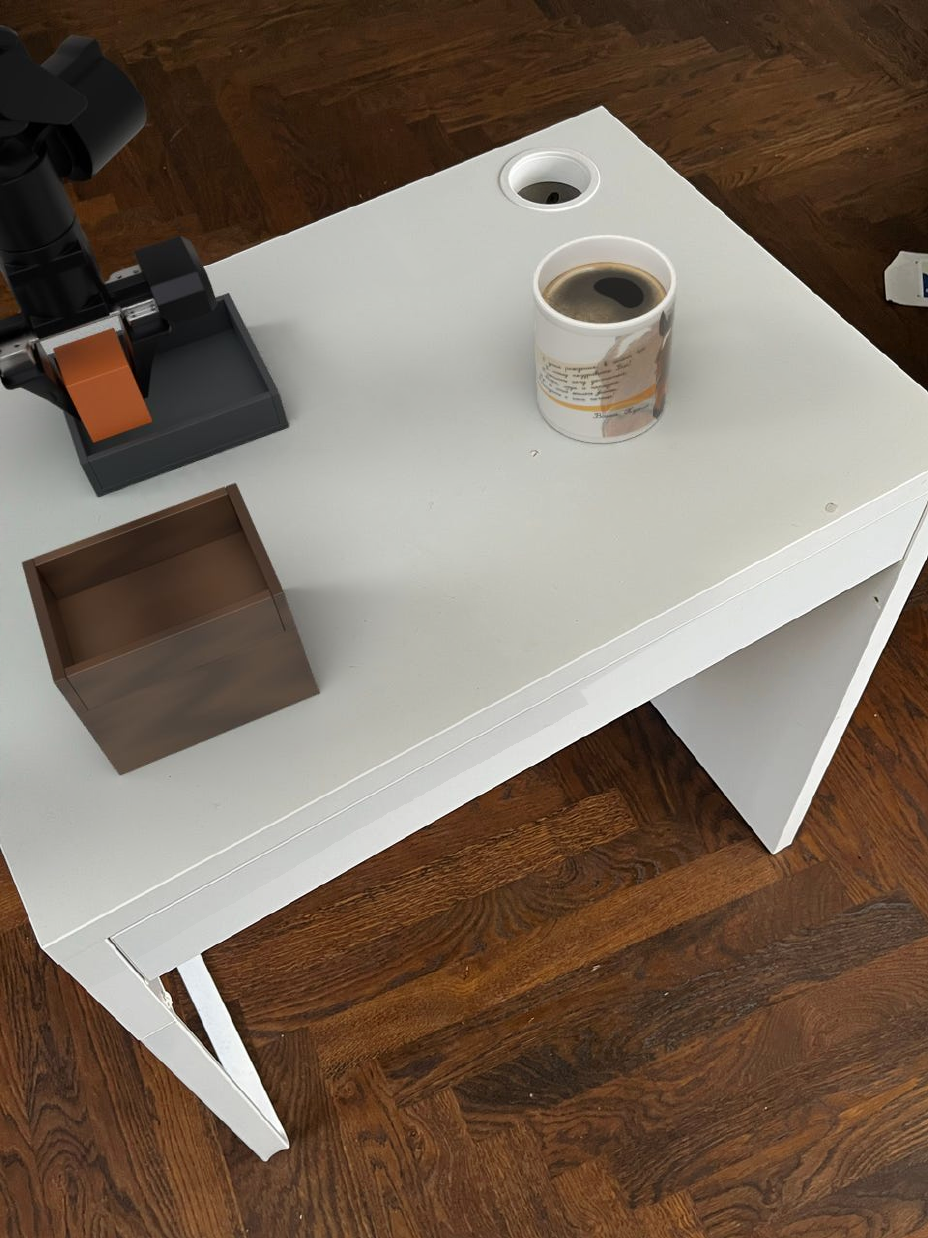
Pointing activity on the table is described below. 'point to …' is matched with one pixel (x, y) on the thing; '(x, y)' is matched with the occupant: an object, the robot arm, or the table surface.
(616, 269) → the mug
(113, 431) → the block
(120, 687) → the box
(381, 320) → the table surface
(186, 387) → the tub
